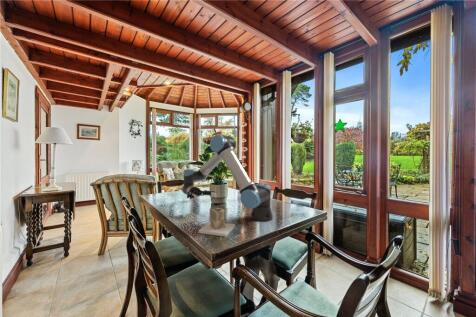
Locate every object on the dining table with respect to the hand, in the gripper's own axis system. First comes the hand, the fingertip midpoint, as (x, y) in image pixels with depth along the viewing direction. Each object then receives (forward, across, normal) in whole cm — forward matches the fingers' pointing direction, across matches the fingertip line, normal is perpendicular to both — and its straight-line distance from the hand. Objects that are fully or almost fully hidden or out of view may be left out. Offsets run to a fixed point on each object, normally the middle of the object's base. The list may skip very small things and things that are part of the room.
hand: (206, 196), depth 137 cm
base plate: (+17, +1, -16) cm, 24 cm away
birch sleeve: (+17, +1, -15) cm, 23 cm away
